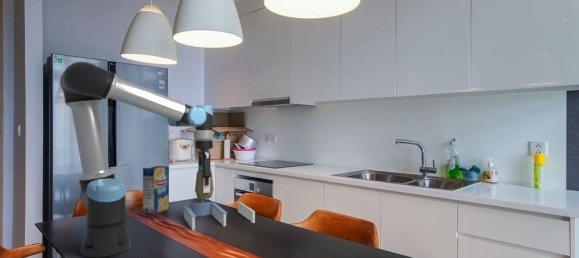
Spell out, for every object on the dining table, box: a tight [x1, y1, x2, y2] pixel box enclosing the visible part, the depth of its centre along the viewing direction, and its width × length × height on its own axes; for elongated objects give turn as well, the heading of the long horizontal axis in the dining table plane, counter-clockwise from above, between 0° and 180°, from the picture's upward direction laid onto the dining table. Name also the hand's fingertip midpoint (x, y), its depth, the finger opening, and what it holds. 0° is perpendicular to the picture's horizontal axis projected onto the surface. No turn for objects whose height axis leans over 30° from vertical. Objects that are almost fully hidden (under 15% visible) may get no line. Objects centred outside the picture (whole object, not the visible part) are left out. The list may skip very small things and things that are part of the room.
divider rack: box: [182, 201, 256, 231], centre depth 155 cm, size 23×27×6 cm
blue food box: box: [142, 165, 170, 215], centre depth 173 cm, size 7×11×22 cm, turn 162°
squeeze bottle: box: [194, 163, 215, 200], centre depth 152 cm, size 8×8×18 cm
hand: (204, 190), depth 152 cm, fingers closed on squeeze bottle, 8 cm apart
